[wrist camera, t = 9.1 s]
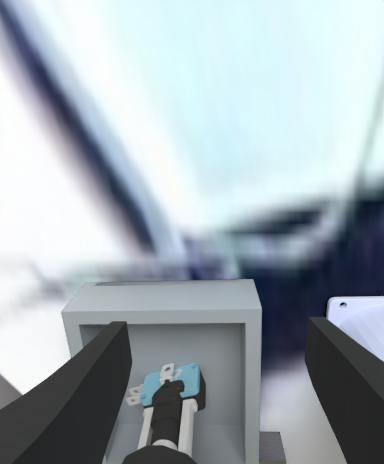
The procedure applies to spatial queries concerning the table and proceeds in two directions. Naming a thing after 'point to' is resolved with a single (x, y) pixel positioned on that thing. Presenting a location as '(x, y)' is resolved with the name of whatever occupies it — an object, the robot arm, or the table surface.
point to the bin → (183, 355)
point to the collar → (271, 448)
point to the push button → (168, 414)
